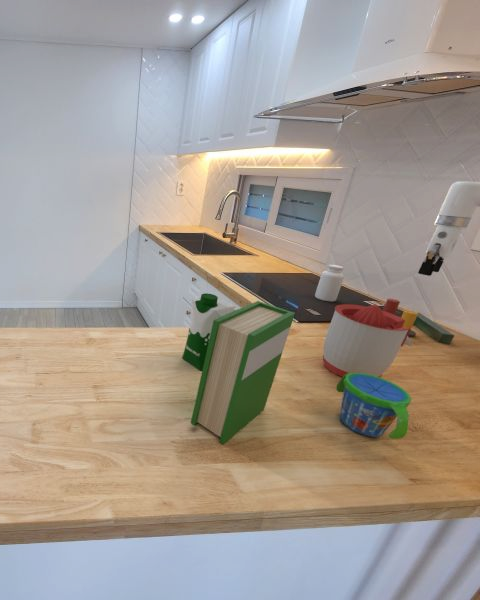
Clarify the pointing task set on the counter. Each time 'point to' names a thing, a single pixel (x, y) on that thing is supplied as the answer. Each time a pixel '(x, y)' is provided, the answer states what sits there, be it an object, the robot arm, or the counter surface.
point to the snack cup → (373, 405)
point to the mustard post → (409, 321)
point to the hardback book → (240, 367)
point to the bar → (433, 329)
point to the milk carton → (203, 327)
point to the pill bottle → (330, 283)
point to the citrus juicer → (363, 340)
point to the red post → (391, 306)
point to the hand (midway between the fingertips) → (428, 272)
